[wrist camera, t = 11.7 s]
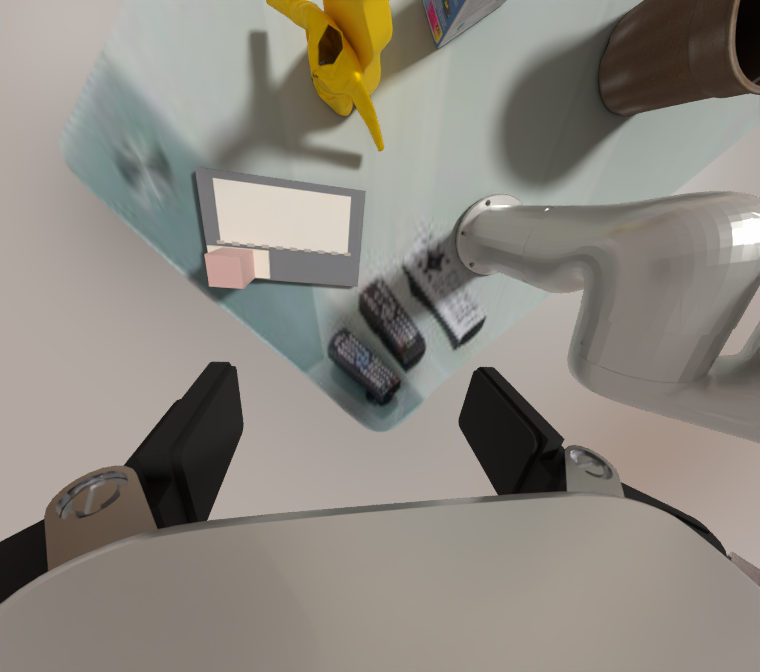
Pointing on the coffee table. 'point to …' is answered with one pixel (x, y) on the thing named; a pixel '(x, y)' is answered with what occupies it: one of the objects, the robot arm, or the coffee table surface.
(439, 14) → the ink cartridge box
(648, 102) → the plant pot
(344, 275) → the board
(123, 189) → the coffee table surface
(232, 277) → the stub
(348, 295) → the coffee table surface
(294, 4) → the figure statuette
